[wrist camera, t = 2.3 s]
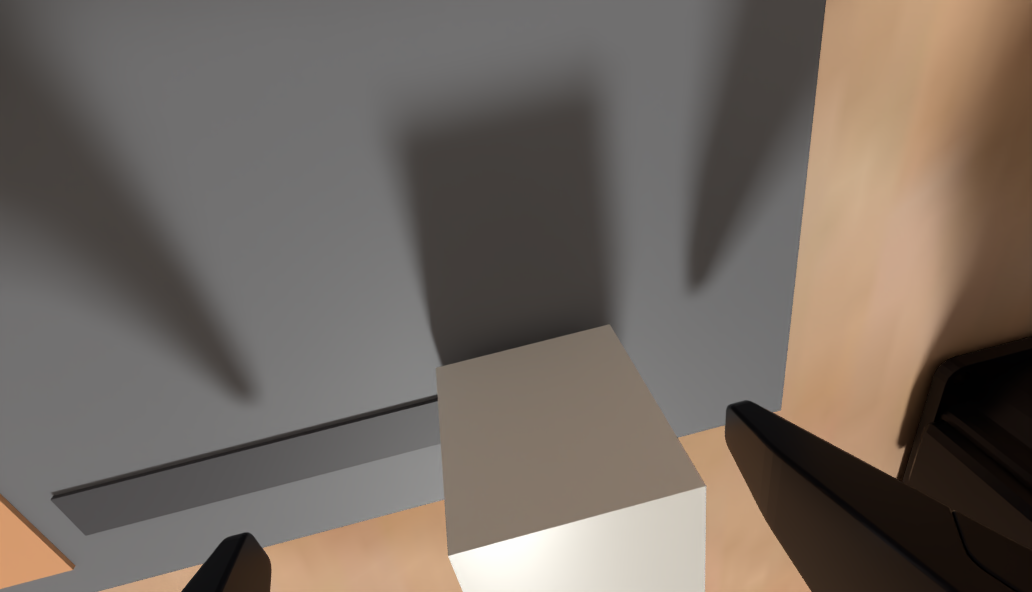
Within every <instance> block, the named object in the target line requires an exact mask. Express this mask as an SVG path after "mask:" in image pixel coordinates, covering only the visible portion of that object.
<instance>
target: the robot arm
mask: <svg viewBox="0 0 1032 592" xmlns="http://www.w3.org/2000/svg"><path fill="white" fill-rule="evenodd" d="M725 440H726V443H727V446H728V448H729V450H730V452H731V454H732V456H733V458H734V460H735V462H736V464H737V466H738V468H739V470H740V472H741V474H742V476H743V478H744V479H745V481H746V483H747V485H748V487H749V489H750V491H751V493H752V495H753V497H754V499H755V501H756V503H757V505H758V507H759V509H760V511H761V513H762V514H763V516H764V518H765V520H766V522H767V523H768V525H769V527H770V528H771V530H772V531H773V533H774V535H775V536H776V538H777V539H778V541H779V542H780V544H781V545H782V547H783V548H784V550H785V551H786V553H787V555H788V556H789V558H790V559H791V561H792V562H793V564H794V565H795V567H796V568H797V570H798V571H799V573H800V575H801V576H802V578H803V579H804V581H805V582H806V584H807V585H808V587H809V588H810V590H811V591H812V592H1032V337H1029V338H1025V339H1022V340H1018V341H1014V342H1010V343H1006V344H1003V345H999V346H995V347H991V348H988V349H984V350H980V351H976V352H972V353H969V354H965V355H961V356H957V357H954V358H951V359H949V360H947V361H945V362H944V363H943V364H941V365H940V367H939V368H938V369H937V370H936V372H935V374H934V377H933V380H932V384H931V387H930V390H929V394H928V397H927V400H926V404H925V407H924V410H923V414H922V417H921V420H920V424H919V427H918V430H917V434H916V437H915V440H914V444H913V447H912V450H911V454H910V457H909V460H908V464H907V467H906V470H905V474H904V477H903V480H902V482H901V481H900V480H898V479H896V478H894V477H892V476H890V475H888V474H886V473H885V472H883V471H881V470H879V469H877V468H875V467H873V466H872V465H870V464H868V463H866V462H864V461H862V460H860V459H859V458H857V457H855V456H853V455H851V454H849V453H847V452H845V451H844V450H842V449H840V448H838V447H836V446H834V445H832V444H831V443H829V442H827V441H825V440H823V439H821V438H819V437H817V436H816V435H814V434H812V433H810V432H808V431H806V430H804V429H803V428H801V427H799V426H797V425H795V424H793V423H791V422H789V421H788V420H786V419H784V418H782V417H780V416H778V415H776V414H775V413H773V412H771V411H769V410H767V409H765V408H763V407H761V406H760V405H758V404H756V403H754V402H752V401H749V400H744V401H740V402H736V403H732V404H729V405H728V406H727V408H726V417H725ZM270 586H271V562H270V559H269V557H268V555H267V554H266V553H265V551H264V550H263V548H262V547H261V545H260V544H259V543H258V541H257V540H256V538H255V537H254V536H253V535H252V534H251V533H249V532H244V533H240V534H237V535H233V536H229V537H227V538H225V539H224V540H223V541H222V542H221V543H220V544H219V545H218V547H217V548H216V549H215V550H214V551H213V553H212V554H211V555H210V556H209V558H208V559H207V560H206V561H205V563H204V564H203V565H202V566H201V568H200V569H199V570H198V571H197V573H196V574H195V575H194V576H193V578H192V579H191V580H190V581H189V583H188V584H187V585H186V586H185V588H184V589H183V590H182V591H181V592H270Z"/></svg>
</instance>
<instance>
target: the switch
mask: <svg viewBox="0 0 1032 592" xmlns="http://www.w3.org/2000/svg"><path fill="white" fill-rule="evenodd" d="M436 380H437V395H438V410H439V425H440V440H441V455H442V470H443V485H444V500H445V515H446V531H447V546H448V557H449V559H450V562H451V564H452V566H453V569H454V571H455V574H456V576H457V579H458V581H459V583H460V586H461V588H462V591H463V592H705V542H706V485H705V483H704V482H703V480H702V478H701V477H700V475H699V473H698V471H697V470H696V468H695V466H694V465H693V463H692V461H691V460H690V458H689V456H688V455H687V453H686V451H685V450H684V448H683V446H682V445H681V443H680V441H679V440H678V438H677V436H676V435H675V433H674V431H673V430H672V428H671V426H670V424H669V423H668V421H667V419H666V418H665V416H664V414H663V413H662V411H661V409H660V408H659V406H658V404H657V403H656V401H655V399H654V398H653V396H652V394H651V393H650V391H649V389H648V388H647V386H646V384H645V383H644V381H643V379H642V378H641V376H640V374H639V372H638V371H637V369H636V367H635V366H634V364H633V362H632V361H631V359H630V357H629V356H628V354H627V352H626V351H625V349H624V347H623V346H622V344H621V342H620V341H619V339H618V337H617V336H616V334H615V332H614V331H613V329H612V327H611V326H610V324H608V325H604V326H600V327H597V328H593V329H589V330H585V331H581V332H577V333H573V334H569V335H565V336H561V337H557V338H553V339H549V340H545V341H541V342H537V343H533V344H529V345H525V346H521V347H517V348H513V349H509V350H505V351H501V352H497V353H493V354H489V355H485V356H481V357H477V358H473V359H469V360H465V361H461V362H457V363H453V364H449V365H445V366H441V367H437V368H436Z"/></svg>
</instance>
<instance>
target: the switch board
mask: <svg viewBox="0 0 1032 592" xmlns="http://www.w3.org/2000/svg"><path fill="white" fill-rule="evenodd" d="M825 5H826V0H0V592H98V591H101V590H105V589H109V588H113V587H117V586H120V585H124V584H128V583H132V582H135V581H139V580H143V579H147V578H150V577H154V576H158V575H162V574H166V573H169V572H173V571H177V570H181V569H184V568H188V567H192V566H196V565H199V564H203V563H205V561H206V560H207V559H208V558H209V556H210V555H211V554H212V553H213V551H214V550H215V549H216V548H217V547H218V545H219V544H220V543H221V542H222V541H223V540H224V539H225V538H227V537H229V536H233V535H237V534H240V533H244V532H249V533H251V534H252V535H253V536H254V537H255V538H256V540H257V541H258V543H259V544H260V545H261V547H262V548H264V547H267V546H271V545H275V544H279V543H282V542H286V541H290V540H294V539H297V538H301V537H305V536H309V535H312V534H316V533H320V532H324V531H328V530H331V529H335V528H339V527H343V526H346V525H350V524H354V523H358V522H361V521H365V520H369V519H373V518H377V517H380V516H384V515H388V514H392V513H395V512H399V511H403V510H407V509H410V508H414V507H418V506H422V505H426V504H429V503H433V502H437V501H441V500H444V485H443V470H442V455H441V440H440V425H439V410H438V395H437V380H436V368H437V367H441V366H445V365H449V364H453V363H457V362H461V361H465V360H469V359H473V358H477V357H481V356H485V355H489V354H493V353H497V352H501V351H505V350H509V349H513V348H517V347H521V346H525V345H529V344H533V343H537V342H541V341H545V340H549V339H553V338H557V337H561V336H565V335H569V334H573V333H577V332H581V331H585V330H589V329H593V328H597V327H600V326H604V325H608V324H610V326H611V327H612V329H613V331H614V332H615V334H616V336H617V337H618V339H619V341H620V342H621V344H622V346H623V347H624V349H625V351H626V352H627V354H628V356H629V357H630V359H631V361H632V362H633V364H634V366H635V367H636V369H637V371H638V372H639V374H640V376H641V378H642V379H643V381H644V383H645V384H646V386H647V388H648V389H649V391H650V393H651V394H652V396H653V398H654V399H655V401H656V403H657V404H658V406H659V408H660V409H661V411H662V413H663V414H664V416H665V418H666V419H667V421H668V423H669V424H670V426H671V428H672V430H673V431H674V433H675V435H676V436H677V438H678V437H682V436H685V435H689V434H693V433H697V432H701V431H704V430H708V429H712V428H716V427H719V426H723V425H725V417H726V408H727V406H728V405H729V404H732V403H736V402H740V401H744V400H749V401H752V402H754V403H756V404H758V405H760V406H761V407H763V408H765V409H767V410H769V411H771V412H776V411H780V410H781V405H782V396H783V387H784V378H785V368H786V359H787V350H788V341H789V332H790V323H791V314H792V305H793V296H794V287H795V278H796V268H797V259H798V250H799V241H800V232H801V223H802V214H803V205H804V196H805V187H806V177H807V168H808V159H809V150H810V141H811V132H812V123H813V114H814V105H815V96H816V87H817V77H818V68H819V59H820V50H821V41H822V32H823V23H824V14H825Z"/></svg>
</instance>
